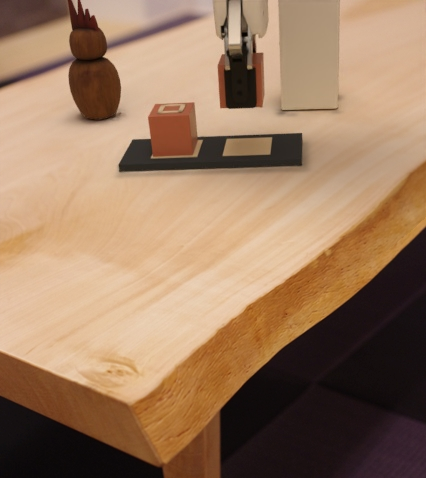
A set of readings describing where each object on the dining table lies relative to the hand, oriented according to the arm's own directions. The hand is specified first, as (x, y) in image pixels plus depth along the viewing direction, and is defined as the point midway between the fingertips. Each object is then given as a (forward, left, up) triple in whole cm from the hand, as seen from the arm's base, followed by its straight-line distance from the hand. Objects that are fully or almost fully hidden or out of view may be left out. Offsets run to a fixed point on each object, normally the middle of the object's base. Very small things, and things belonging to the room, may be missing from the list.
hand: (243, 98), depth 80 cm
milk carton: (-7, -18, -6) cm, 20 cm away
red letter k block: (0, 0, 0) cm, 0 cm away
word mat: (+4, 0, -6) cm, 7 cm away
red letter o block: (+8, 0, -5) cm, 10 cm away
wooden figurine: (+21, -16, -6) cm, 27 cm away
